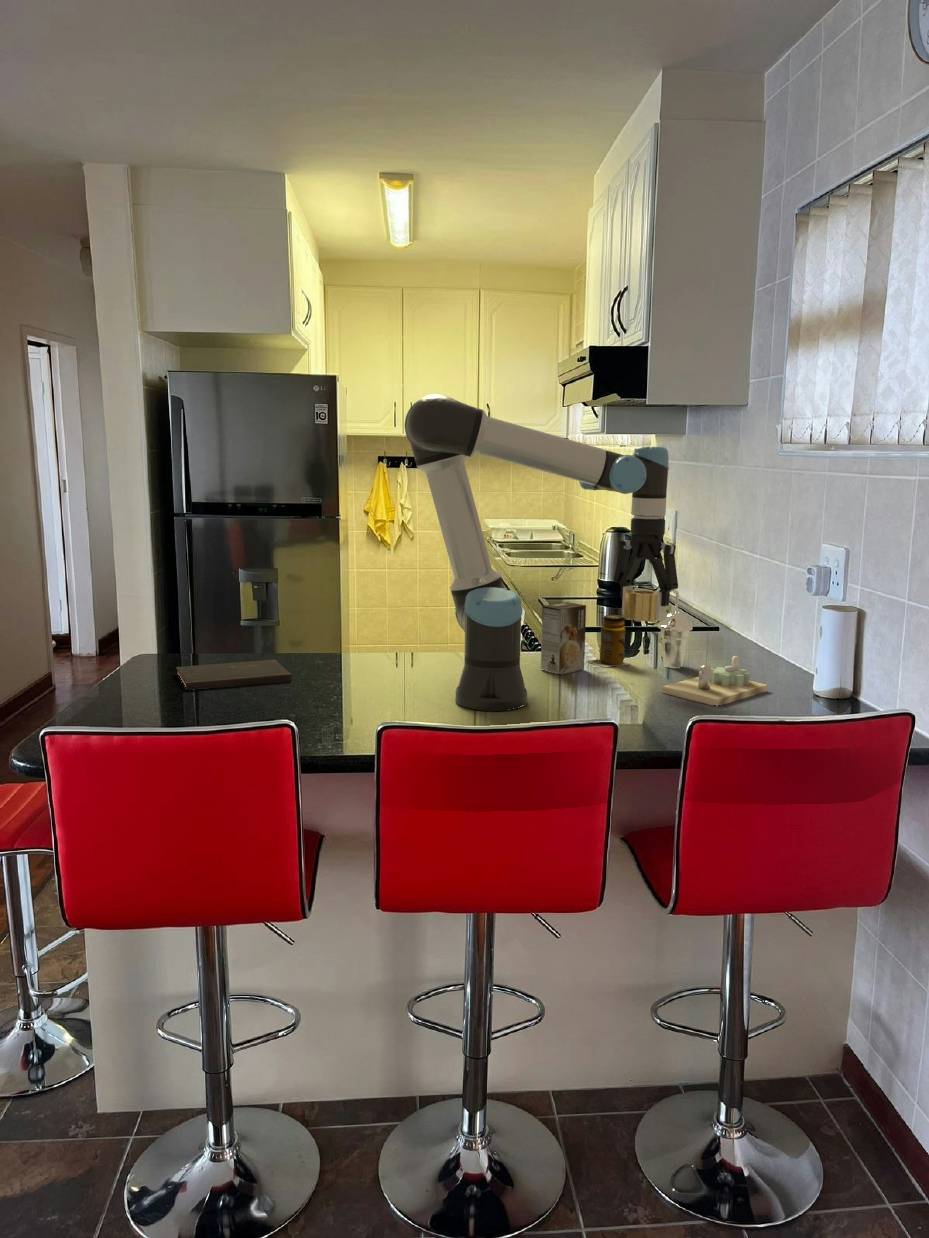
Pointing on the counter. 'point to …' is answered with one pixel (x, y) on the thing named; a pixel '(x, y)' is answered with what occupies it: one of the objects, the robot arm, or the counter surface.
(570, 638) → the brown and white box
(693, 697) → the board
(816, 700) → the counter surface
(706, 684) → the steel peg
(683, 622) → the cup with straw
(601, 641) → the condiment
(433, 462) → the robot arm
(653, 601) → the brass gear
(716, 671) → the crank gear
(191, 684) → the hardcover book
